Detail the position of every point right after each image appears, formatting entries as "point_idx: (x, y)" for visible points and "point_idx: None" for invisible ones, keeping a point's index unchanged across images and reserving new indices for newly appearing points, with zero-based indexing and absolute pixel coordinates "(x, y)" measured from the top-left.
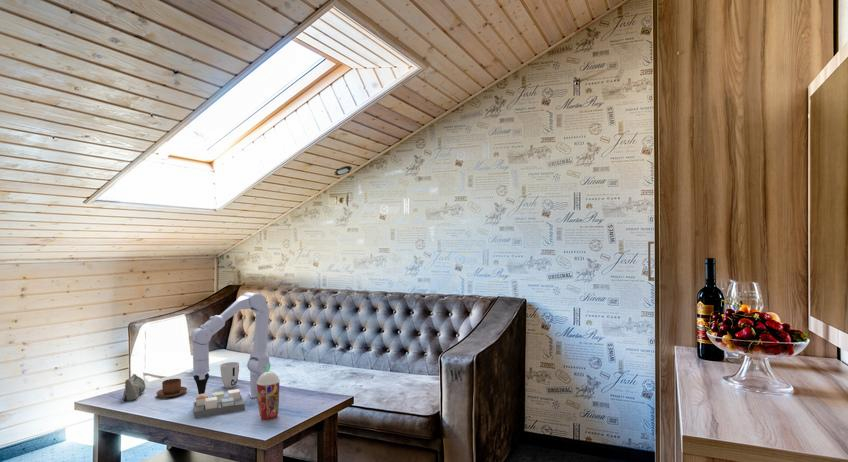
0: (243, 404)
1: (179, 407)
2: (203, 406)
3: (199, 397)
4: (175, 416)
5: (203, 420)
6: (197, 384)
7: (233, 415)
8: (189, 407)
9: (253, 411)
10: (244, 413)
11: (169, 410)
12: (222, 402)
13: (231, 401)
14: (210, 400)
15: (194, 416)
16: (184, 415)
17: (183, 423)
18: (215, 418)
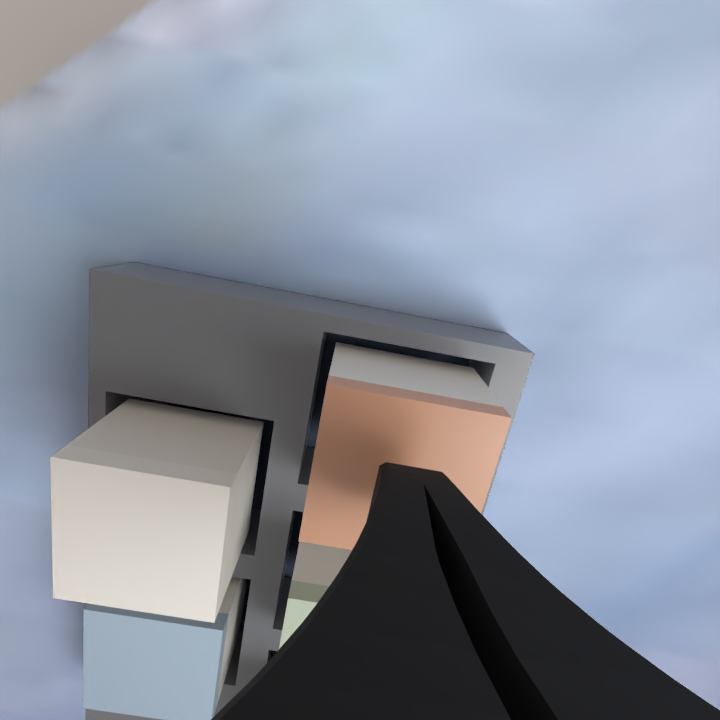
0: (88, 715)
1: (682, 201)
2: (252, 412)
3: (336, 435)
4: (349, 74)
5: (4, 322)
6: (322, 602)
7: (14, 570)
8: (578, 302)
9: (37, 702)
10: (21, 644)
11: (669, 55)
12: (85, 607)
13: (86, 680)
14: (59, 522)
15: (192, 273)
16: (313, 184)
17: (8, 104)
18: (8, 431)
